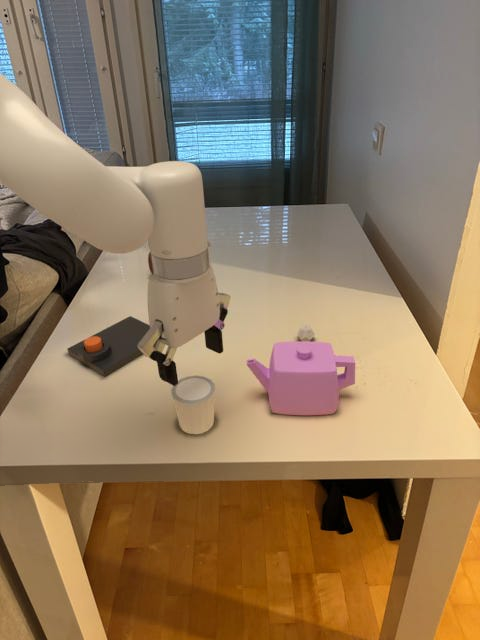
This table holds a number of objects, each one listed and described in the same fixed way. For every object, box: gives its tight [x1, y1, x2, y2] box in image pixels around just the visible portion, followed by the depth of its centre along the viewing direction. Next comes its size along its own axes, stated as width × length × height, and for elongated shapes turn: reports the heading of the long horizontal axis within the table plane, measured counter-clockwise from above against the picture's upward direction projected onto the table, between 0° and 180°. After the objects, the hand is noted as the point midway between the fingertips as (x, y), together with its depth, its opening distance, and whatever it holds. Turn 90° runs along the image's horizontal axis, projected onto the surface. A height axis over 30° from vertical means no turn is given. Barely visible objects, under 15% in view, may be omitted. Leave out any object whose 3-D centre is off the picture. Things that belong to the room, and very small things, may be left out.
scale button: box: [84, 335, 103, 352], centre depth 90 cm, size 3×3×2 cm
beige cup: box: [170, 375, 216, 435], centre depth 74 cm, size 7×7×7 cm
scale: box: [67, 315, 158, 377], centre depth 95 cm, size 17×12×3 cm
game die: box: [296, 324, 315, 342], centre depth 95 cm, size 4×4×3 cm
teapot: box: [246, 340, 356, 416], centre depth 78 cm, size 18×10×10 cm, turn 87°
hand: (192, 365), depth 70 cm, fingers open, 9 cm apart
